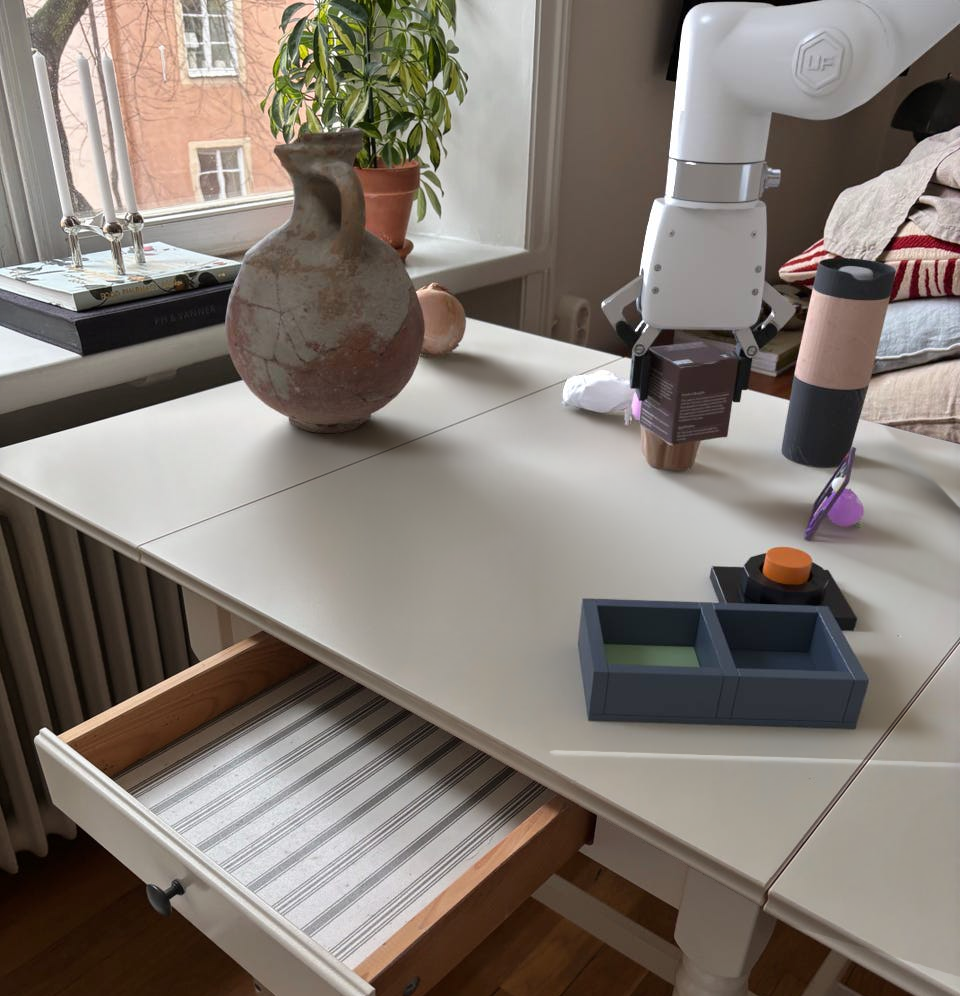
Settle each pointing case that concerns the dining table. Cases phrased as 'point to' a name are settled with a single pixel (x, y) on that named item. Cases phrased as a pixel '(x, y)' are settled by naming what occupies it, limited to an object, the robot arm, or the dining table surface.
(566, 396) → the bird figurine
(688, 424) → the box
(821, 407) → the travel mug
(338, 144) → the jug
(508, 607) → the dining table surface
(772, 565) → the button
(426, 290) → the onion
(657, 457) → the cupcake
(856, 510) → the purple framed ornament
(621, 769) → the dining table surface
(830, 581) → the push button base
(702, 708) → the holder
